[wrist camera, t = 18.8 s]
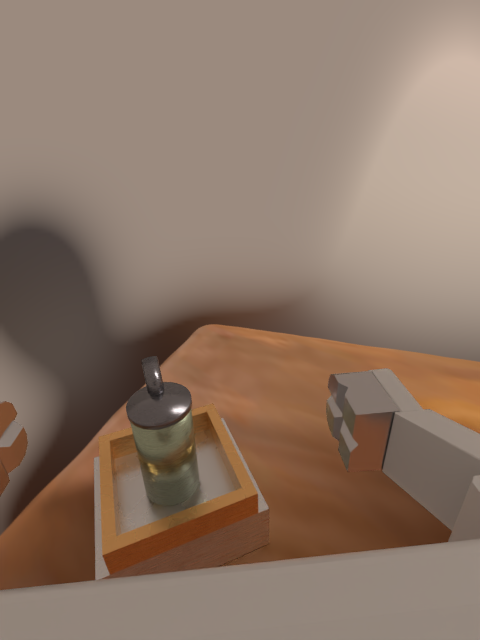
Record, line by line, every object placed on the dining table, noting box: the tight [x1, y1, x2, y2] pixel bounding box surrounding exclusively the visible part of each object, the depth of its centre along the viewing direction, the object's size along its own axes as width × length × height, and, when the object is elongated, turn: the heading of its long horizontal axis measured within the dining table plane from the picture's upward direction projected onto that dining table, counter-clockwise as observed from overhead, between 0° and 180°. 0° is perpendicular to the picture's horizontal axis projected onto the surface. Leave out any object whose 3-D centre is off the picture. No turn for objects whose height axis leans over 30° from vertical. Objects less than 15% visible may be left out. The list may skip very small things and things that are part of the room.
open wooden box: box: [94, 404, 269, 580], centre depth 34 cm, size 14×15×8 cm
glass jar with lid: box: [126, 356, 199, 506], centre depth 30 cm, size 5×7×12 cm
